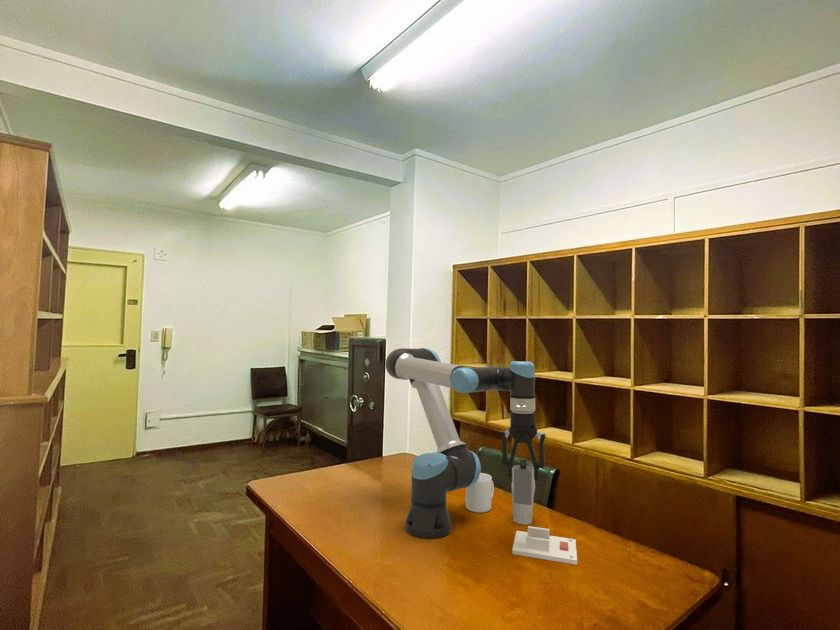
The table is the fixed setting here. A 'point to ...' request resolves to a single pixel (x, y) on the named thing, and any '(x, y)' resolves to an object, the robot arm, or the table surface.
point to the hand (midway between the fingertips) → (523, 489)
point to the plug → (523, 484)
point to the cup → (522, 512)
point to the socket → (544, 546)
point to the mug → (480, 494)
